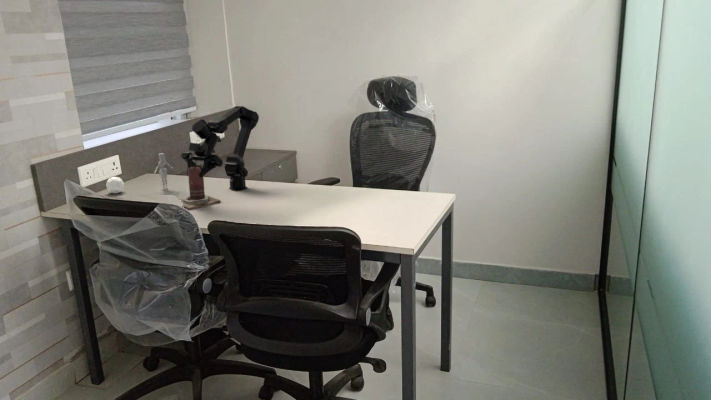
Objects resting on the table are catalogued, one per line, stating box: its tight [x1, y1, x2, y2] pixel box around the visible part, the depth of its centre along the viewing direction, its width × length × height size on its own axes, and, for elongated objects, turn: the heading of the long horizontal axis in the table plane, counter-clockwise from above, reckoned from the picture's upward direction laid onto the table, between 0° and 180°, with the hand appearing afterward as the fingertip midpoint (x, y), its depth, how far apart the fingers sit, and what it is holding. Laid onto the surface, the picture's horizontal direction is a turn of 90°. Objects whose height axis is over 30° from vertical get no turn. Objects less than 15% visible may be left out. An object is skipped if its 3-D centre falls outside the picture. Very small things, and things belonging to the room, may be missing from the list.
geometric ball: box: [105, 176, 125, 194], centre depth 264 cm, size 8×8×8 cm
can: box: [187, 164, 206, 200], centre depth 240 cm, size 6×6×14 cm
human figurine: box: [153, 152, 174, 192], centre depth 265 cm, size 12×4×18 cm, turn 152°
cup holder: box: [179, 194, 221, 211], centre depth 247 cm, size 15×15×2 cm
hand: (194, 176), depth 238 cm, fingers closed on can, 6 cm apart
